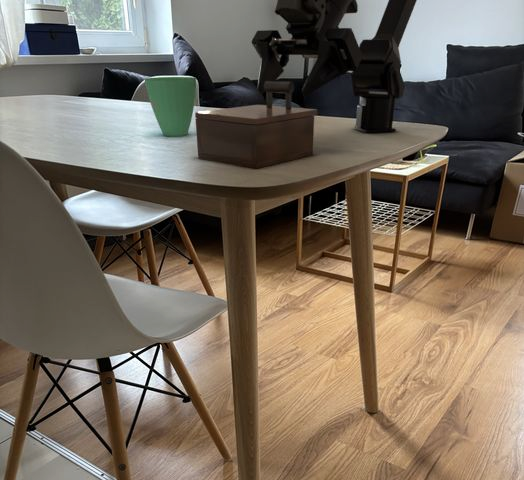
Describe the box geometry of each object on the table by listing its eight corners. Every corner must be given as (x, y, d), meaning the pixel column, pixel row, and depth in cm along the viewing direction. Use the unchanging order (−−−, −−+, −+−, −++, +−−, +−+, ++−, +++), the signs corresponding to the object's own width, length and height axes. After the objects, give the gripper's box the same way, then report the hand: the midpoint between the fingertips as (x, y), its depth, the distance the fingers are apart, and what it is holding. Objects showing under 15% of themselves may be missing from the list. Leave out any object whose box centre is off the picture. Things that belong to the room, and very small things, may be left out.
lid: (258, 109, 87) (257, 79, 85) (317, 115, 80) (318, 82, 78) (195, 118, 78) (192, 84, 76) (256, 125, 71) (255, 88, 68)
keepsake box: (255, 146, 90) (254, 110, 87) (312, 155, 82) (314, 115, 79) (198, 158, 81) (195, 118, 78) (256, 168, 74) (256, 125, 71)
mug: (203, 136, 100) (200, 79, 94) (153, 139, 97) (146, 80, 92) (192, 126, 112) (188, 75, 107) (146, 129, 109) (140, 76, 104)
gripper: (258, -29, 81) (212, 52, 80) (358, -41, 71) (307, 52, 69) (288, 30, 90) (247, 103, 89) (381, 27, 80) (336, 111, 78)
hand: (280, 93), depth 81 cm, fingers open, 9 cm apart
